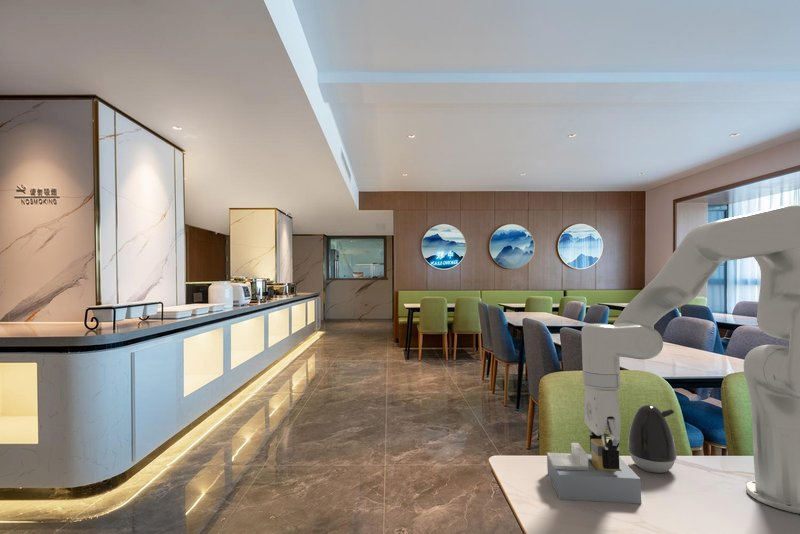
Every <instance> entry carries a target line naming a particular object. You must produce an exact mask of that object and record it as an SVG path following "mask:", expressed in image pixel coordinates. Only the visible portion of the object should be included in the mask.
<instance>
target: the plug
mask: <svg viewBox="0 0 800 534" xmlns="http://www.w3.org/2000/svg"><path fill="white" fill-rule="evenodd" d="M606 439H607V443H608V441H609V440H611V438H606ZM602 448H604V446H603V441H602V439H591V451H590V454H591V456H592V466H593V467H594V469H595V470H608V471H618V469H605V468H604V467H603V463H602Z"/></svg>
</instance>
